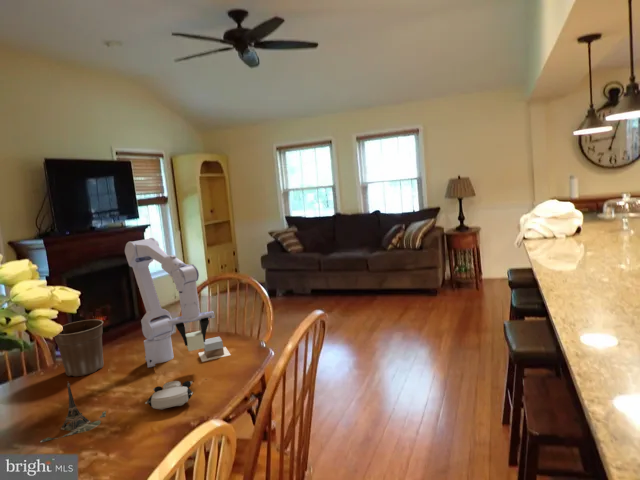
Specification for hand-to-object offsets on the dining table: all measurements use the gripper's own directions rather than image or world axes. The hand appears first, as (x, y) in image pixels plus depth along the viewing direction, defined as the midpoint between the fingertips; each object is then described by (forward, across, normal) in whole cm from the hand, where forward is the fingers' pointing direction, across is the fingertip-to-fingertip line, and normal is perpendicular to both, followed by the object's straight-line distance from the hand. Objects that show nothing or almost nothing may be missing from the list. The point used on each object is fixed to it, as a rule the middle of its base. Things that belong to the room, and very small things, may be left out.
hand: (194, 343), depth 152 cm
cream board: (+10, +7, +11) cm, 16 cm away
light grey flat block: (+6, +7, +11) cm, 15 cm away
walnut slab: (+9, +7, +11) cm, 16 cm away
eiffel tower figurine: (+10, -35, -18) cm, 41 cm away
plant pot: (+10, -36, +27) cm, 46 cm away
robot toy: (+10, -10, -18) cm, 23 cm away
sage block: (+2, 0, 0) cm, 2 cm away
